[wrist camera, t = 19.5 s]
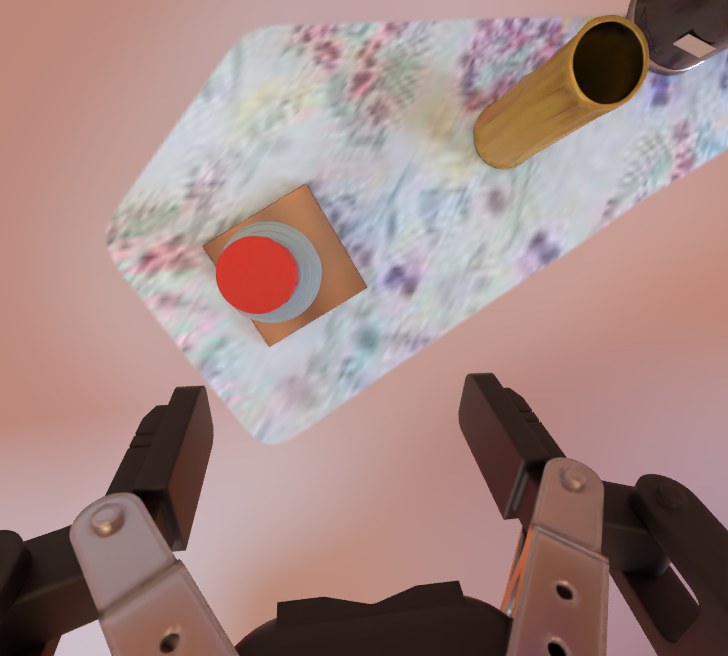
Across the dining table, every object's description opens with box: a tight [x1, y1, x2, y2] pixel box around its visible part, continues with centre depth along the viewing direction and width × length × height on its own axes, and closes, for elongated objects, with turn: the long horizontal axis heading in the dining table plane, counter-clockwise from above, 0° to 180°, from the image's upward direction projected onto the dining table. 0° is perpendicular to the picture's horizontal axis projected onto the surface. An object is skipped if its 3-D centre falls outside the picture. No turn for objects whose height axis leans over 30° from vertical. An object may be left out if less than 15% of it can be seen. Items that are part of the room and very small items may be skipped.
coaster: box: [203, 184, 367, 347], centre depth 38 cm, size 11×11×1 cm
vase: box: [474, 15, 649, 169], centre depth 31 cm, size 6×6×14 cm
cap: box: [216, 236, 299, 314], centre depth 20 cm, size 4×4×3 cm
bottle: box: [221, 221, 322, 323], centre depth 28 cm, size 6×6×19 cm
